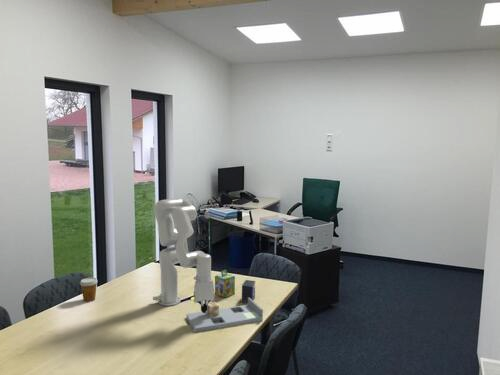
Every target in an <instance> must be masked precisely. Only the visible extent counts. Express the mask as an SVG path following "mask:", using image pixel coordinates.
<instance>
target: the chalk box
mask: <svg viewBox="0 0 500 375" xmlns="http://www.w3.org/2000/svg"><path fill="white" fill-rule="evenodd" d="M235 280H236V277H235V275H232V274H229V273H228V271H227V269H224V270H221V271H220V274H217V275H215V276H214V296H218V297H222V298H228V297H230V296H233V295H235V290H236V289H235V288H236V282H235Z"/></svg>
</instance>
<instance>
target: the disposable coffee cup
mask: <svg viewBox="0 0 500 375" xmlns="http://www.w3.org/2000/svg"><path fill="white" fill-rule="evenodd" d="M98 281H99V280H98V279H97V278H96V277H86V278H82V279H81V280H80V282H79V284H80V287H81V292H82V297H83V302H85V301H86V302H85V303H90V301H91V302H94V301H95V300H96V295H97V287H98V286H97V284H98Z"/></svg>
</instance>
